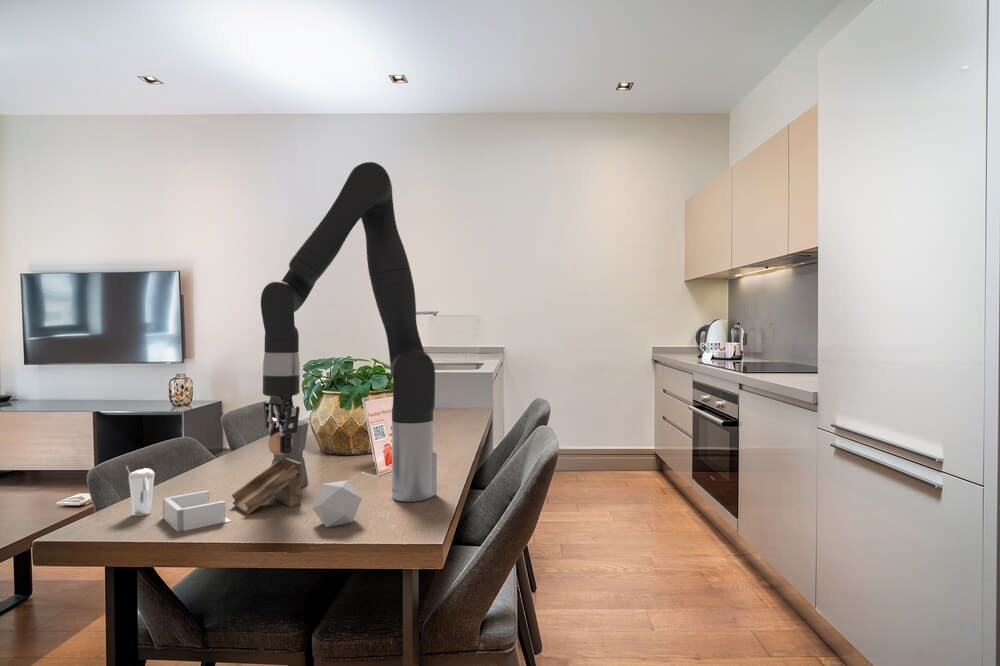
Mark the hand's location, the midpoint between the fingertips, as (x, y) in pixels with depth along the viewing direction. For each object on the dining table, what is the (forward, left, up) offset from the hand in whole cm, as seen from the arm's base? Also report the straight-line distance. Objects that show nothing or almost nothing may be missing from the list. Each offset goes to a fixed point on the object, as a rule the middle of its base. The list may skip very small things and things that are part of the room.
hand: (280, 450), depth 125 cm
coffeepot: (-8, -14, -12) cm, 20 cm away
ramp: (+3, 0, -11) cm, 12 cm away
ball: (0, 0, +2) cm, 2 cm away
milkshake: (+24, -12, -12) cm, 29 cm away
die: (-3, +21, -12) cm, 24 cm away
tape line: (+13, 0, -11) cm, 17 cm away
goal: (+17, 0, -11) cm, 21 cm away
